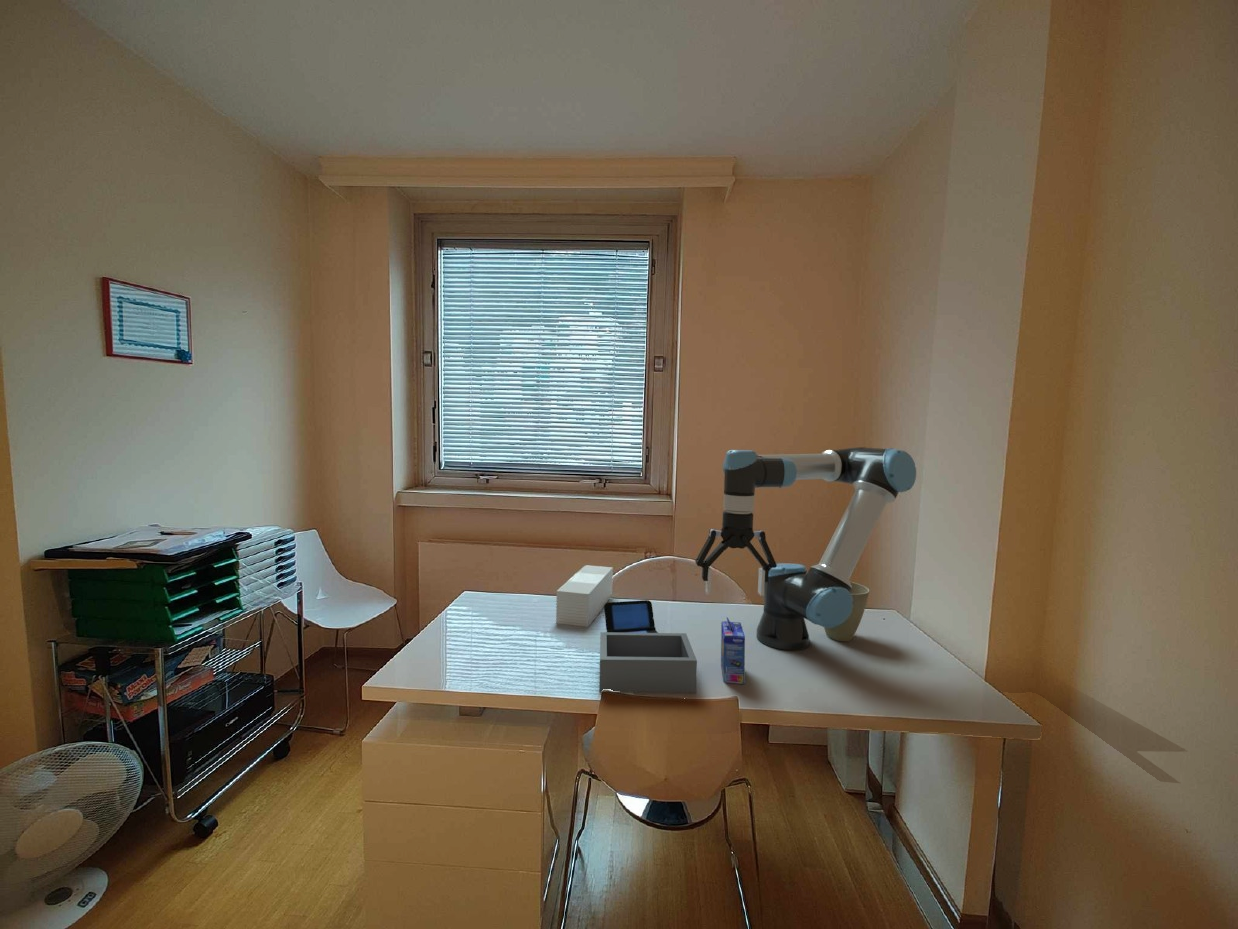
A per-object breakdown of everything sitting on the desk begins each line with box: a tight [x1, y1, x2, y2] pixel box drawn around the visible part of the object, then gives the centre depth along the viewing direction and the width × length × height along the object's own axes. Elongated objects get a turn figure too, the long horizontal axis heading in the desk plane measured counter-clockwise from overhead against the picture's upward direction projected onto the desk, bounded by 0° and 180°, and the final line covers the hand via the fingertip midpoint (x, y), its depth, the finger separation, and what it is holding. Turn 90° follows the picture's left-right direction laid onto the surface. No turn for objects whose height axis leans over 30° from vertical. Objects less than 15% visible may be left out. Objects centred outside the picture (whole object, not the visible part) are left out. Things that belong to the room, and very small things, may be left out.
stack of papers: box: [555, 564, 614, 628], centre depth 177 cm, size 32×11×11 cm, turn 167°
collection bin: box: [598, 631, 698, 694], centre depth 129 cm, size 23×16×8 cm
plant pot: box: [823, 581, 870, 642], centre depth 157 cm, size 15×15×16 cm
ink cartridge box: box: [720, 617, 746, 685], centre depth 131 cm, size 10×6×14 cm, turn 173°
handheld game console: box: [603, 599, 659, 633], centre depth 153 cm, size 16×13×9 cm
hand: (734, 593), depth 130 cm, fingers open, 13 cm apart
